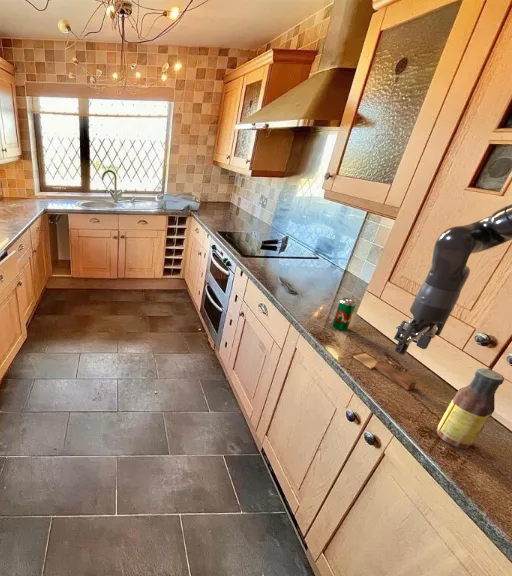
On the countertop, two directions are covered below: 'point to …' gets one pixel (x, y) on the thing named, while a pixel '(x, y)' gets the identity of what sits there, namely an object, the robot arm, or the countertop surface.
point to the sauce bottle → (470, 409)
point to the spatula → (387, 371)
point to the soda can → (344, 314)
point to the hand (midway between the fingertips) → (410, 350)
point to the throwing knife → (286, 285)
